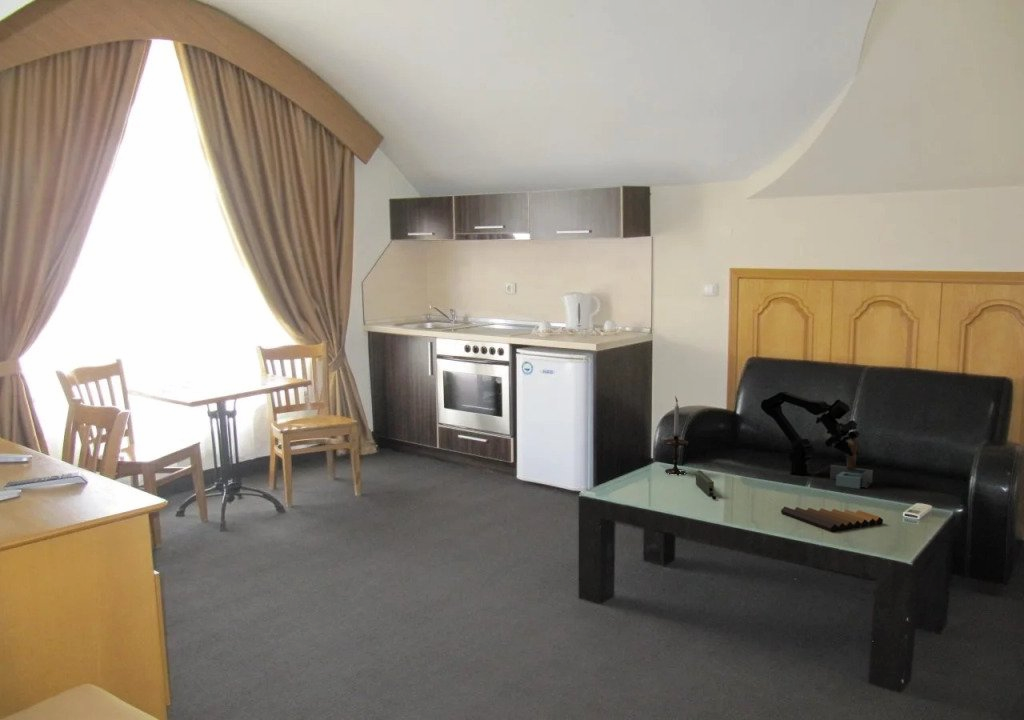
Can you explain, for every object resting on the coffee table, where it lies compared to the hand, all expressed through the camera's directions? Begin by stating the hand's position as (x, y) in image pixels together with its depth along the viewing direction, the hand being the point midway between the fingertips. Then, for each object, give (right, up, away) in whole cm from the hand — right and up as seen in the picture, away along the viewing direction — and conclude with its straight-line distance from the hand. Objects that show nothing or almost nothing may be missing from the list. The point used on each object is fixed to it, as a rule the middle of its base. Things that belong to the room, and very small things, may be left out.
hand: (854, 455), depth 368 cm
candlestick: (-72, -11, +23) cm, 76 cm away
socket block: (-1, -13, +2) cm, 13 cm away
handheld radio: (-66, -15, -11) cm, 68 cm away
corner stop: (-1, -13, +5) cm, 14 cm away
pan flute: (-28, -19, -49) cm, 60 cm away
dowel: (-1, -6, +2) cm, 7 cm away
